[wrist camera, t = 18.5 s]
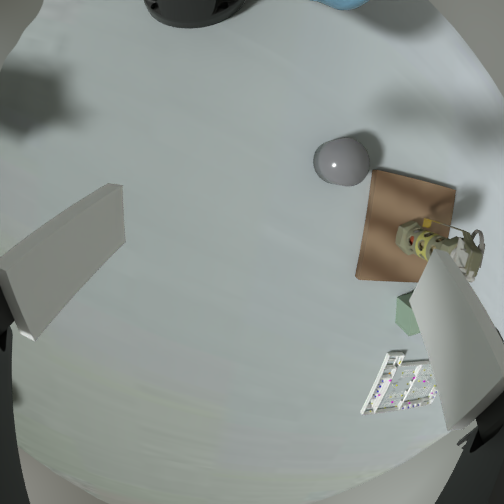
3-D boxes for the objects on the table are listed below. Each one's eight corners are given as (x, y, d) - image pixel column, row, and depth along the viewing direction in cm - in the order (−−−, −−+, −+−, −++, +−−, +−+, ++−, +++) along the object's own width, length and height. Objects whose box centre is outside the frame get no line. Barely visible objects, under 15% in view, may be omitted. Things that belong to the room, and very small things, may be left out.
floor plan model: (386, 351, 49) (390, 356, 47) (468, 345, 51) (473, 349, 50) (359, 410, 52) (362, 415, 51) (442, 397, 55) (445, 401, 54)
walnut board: (372, 169, 39) (377, 169, 38) (450, 189, 41) (455, 190, 39) (354, 276, 43) (358, 279, 42) (432, 280, 45) (437, 283, 43)
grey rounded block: (315, 137, 37) (327, 133, 33) (355, 145, 38) (371, 142, 33) (311, 180, 39) (322, 182, 34) (351, 186, 40) (366, 189, 35)
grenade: (389, 250, 41) (452, 287, 26) (399, 206, 39) (468, 227, 25) (424, 256, 42) (487, 290, 27) (434, 215, 40) (502, 237, 26)
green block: (396, 296, 45) (411, 309, 40) (420, 290, 45) (436, 301, 40) (395, 322, 46) (409, 336, 42) (417, 315, 47) (432, 327, 42)
